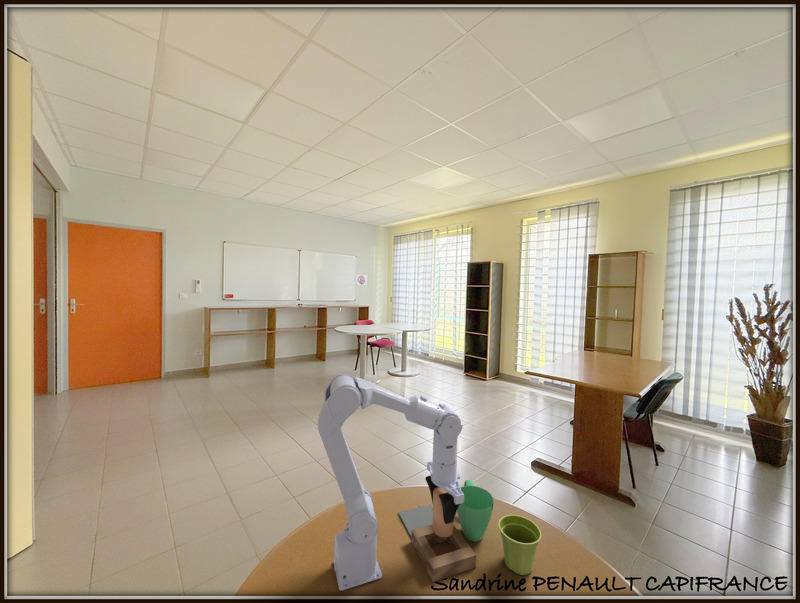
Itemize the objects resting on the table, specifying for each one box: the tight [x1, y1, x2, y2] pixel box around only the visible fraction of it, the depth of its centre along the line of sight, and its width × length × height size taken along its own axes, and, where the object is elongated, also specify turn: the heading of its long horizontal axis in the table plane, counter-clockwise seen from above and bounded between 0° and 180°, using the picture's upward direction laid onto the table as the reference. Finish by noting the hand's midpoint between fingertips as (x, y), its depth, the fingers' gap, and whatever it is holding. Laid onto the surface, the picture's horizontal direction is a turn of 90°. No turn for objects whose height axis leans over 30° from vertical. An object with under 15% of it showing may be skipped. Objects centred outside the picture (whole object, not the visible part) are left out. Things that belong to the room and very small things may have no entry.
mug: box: [456, 479, 495, 542], centre depth 87 cm, size 15×10×10 cm
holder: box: [410, 524, 477, 583], centre depth 78 cm, size 11×12×3 cm
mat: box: [398, 504, 433, 537], centre depth 89 cm, size 10×10×1 cm
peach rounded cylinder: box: [432, 487, 455, 537], centre depth 78 cm, size 5×5×9 cm
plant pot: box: [497, 514, 542, 576], centre depth 76 cm, size 9×9×9 cm
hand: (443, 514), depth 78 cm, fingers closed on peach rounded cylinder, 5 cm apart
